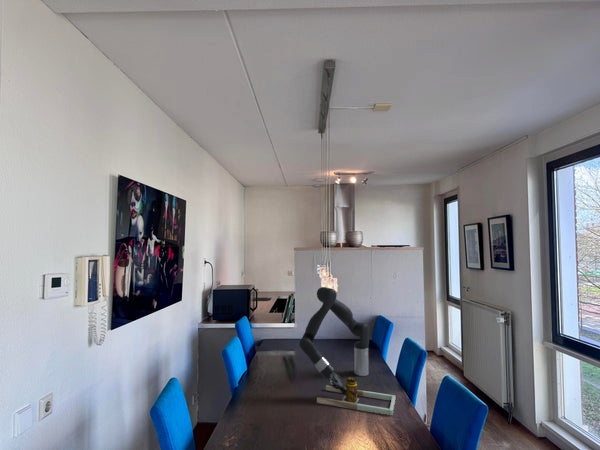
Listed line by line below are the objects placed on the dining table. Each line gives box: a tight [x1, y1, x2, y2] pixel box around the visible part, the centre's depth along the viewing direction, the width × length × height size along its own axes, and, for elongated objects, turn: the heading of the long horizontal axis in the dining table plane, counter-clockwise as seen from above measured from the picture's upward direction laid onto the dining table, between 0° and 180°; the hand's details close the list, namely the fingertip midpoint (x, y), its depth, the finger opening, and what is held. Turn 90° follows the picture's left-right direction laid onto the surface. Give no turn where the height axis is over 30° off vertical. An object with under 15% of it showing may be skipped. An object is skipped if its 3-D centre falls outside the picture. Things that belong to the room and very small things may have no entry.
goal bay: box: [357, 390, 397, 416], centre depth 181 cm, size 18×18×2 cm
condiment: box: [341, 376, 360, 403], centre depth 187 cm, size 7×8×12 cm
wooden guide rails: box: [316, 384, 364, 410], centre depth 188 cm, size 18×22×2 cm
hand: (345, 392), depth 187 cm, fingers closed
